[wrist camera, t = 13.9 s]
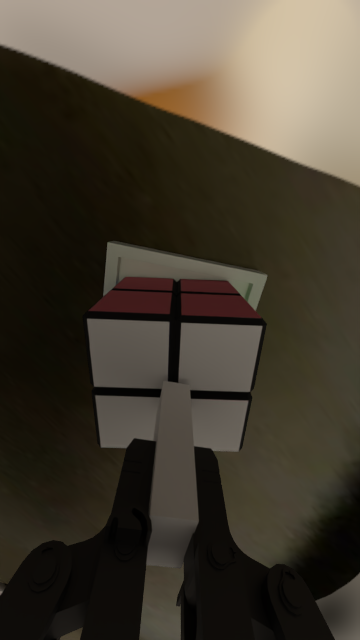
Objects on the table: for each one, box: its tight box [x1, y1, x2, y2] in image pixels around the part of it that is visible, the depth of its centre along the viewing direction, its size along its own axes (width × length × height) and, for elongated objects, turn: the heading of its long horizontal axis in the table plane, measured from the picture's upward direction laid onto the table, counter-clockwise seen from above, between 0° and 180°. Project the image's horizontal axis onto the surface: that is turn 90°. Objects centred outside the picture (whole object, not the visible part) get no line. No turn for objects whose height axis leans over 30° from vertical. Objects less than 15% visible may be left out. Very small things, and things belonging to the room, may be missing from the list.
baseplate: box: [103, 241, 268, 311], centre depth 23 cm, size 14×14×2 cm
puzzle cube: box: [83, 277, 267, 451], centre depth 19 cm, size 10×10×10 cm
